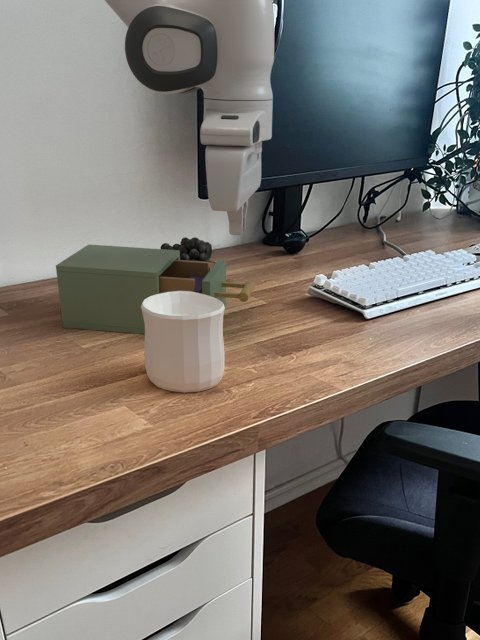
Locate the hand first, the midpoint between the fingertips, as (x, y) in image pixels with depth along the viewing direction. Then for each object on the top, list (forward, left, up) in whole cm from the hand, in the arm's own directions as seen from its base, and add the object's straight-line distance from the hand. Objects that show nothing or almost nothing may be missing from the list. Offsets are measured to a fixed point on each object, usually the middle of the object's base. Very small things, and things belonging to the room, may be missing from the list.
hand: (237, 233), depth 96 cm
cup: (-3, -20, -14) cm, 24 cm away
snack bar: (-5, 0, -10) cm, 11 cm away
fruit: (-14, +17, -14) cm, 26 cm away
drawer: (-7, 0, -13) cm, 15 cm away
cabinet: (-17, 0, -14) cm, 22 cm away
